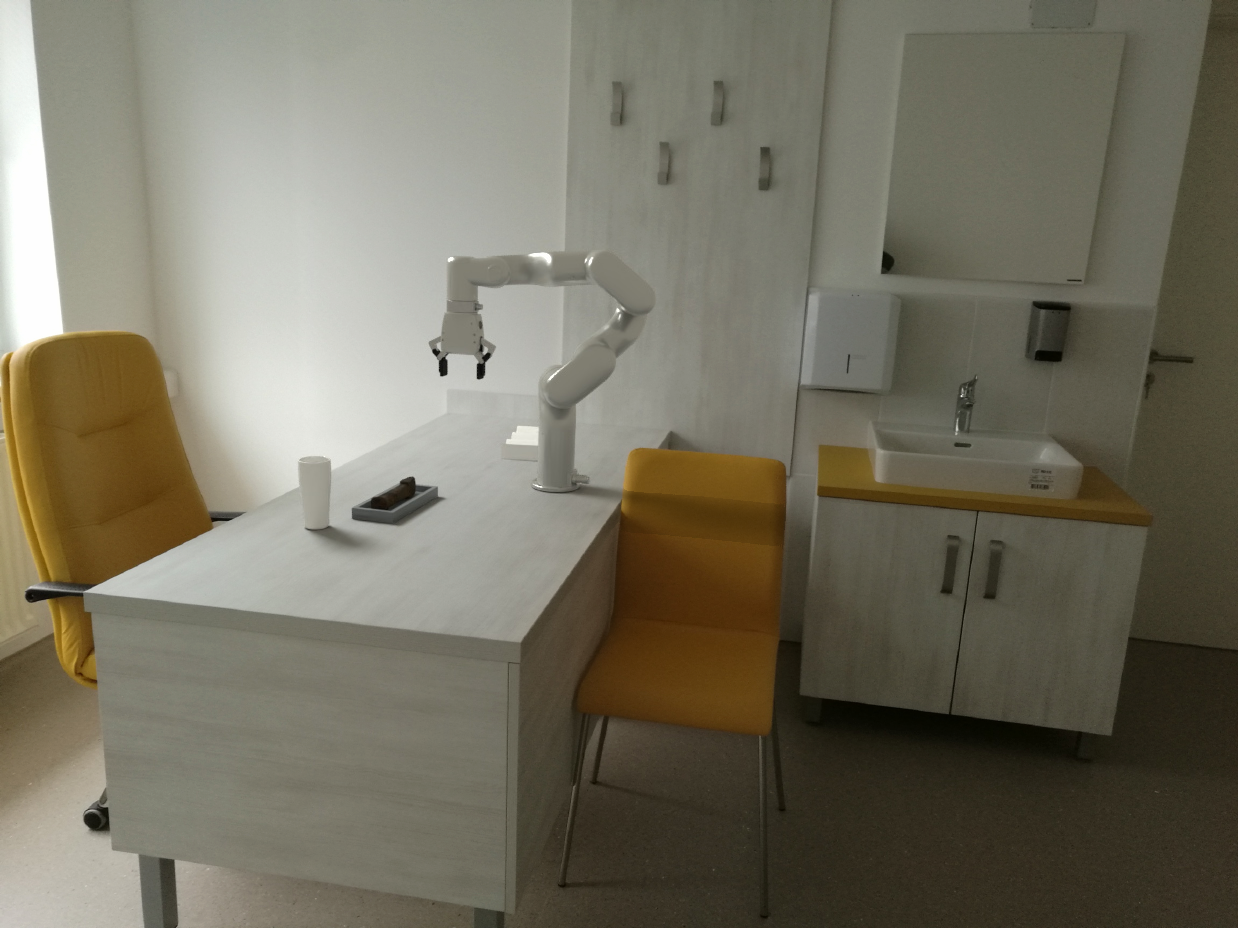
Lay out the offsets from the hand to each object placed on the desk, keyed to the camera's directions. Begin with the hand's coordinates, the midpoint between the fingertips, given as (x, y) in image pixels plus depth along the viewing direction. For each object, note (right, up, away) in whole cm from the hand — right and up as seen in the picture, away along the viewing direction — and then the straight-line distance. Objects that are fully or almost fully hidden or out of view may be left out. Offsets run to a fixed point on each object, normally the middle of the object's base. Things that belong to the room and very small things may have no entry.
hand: (461, 377), depth 233 cm
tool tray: (-13, -32, -13) cm, 37 cm away
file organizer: (+12, -17, +56) cm, 60 cm away
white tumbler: (-27, -35, -30) cm, 53 cm away
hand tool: (-14, -31, -13) cm, 36 cm away
